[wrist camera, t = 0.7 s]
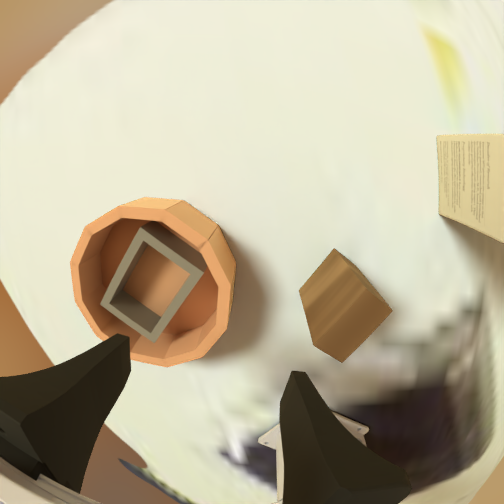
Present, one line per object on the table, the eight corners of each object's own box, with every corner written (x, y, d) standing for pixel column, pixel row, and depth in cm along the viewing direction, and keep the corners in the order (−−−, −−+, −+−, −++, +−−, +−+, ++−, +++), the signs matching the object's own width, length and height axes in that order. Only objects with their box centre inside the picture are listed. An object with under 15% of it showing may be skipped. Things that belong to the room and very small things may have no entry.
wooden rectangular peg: (355, 265, 21) (392, 310, 14) (320, 305, 22) (341, 363, 15) (334, 248, 20) (366, 288, 14) (298, 290, 21) (313, 345, 15)
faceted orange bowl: (265, 258, 21) (266, 281, 17) (186, 357, 23) (175, 388, 20) (138, 168, 19) (112, 171, 15) (81, 282, 22) (55, 302, 18)
